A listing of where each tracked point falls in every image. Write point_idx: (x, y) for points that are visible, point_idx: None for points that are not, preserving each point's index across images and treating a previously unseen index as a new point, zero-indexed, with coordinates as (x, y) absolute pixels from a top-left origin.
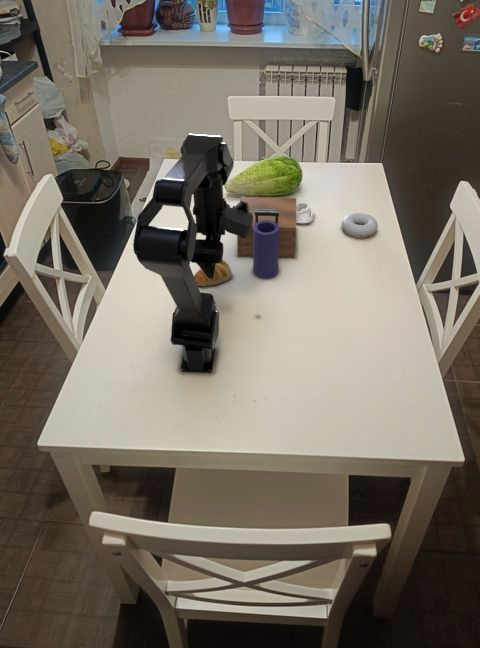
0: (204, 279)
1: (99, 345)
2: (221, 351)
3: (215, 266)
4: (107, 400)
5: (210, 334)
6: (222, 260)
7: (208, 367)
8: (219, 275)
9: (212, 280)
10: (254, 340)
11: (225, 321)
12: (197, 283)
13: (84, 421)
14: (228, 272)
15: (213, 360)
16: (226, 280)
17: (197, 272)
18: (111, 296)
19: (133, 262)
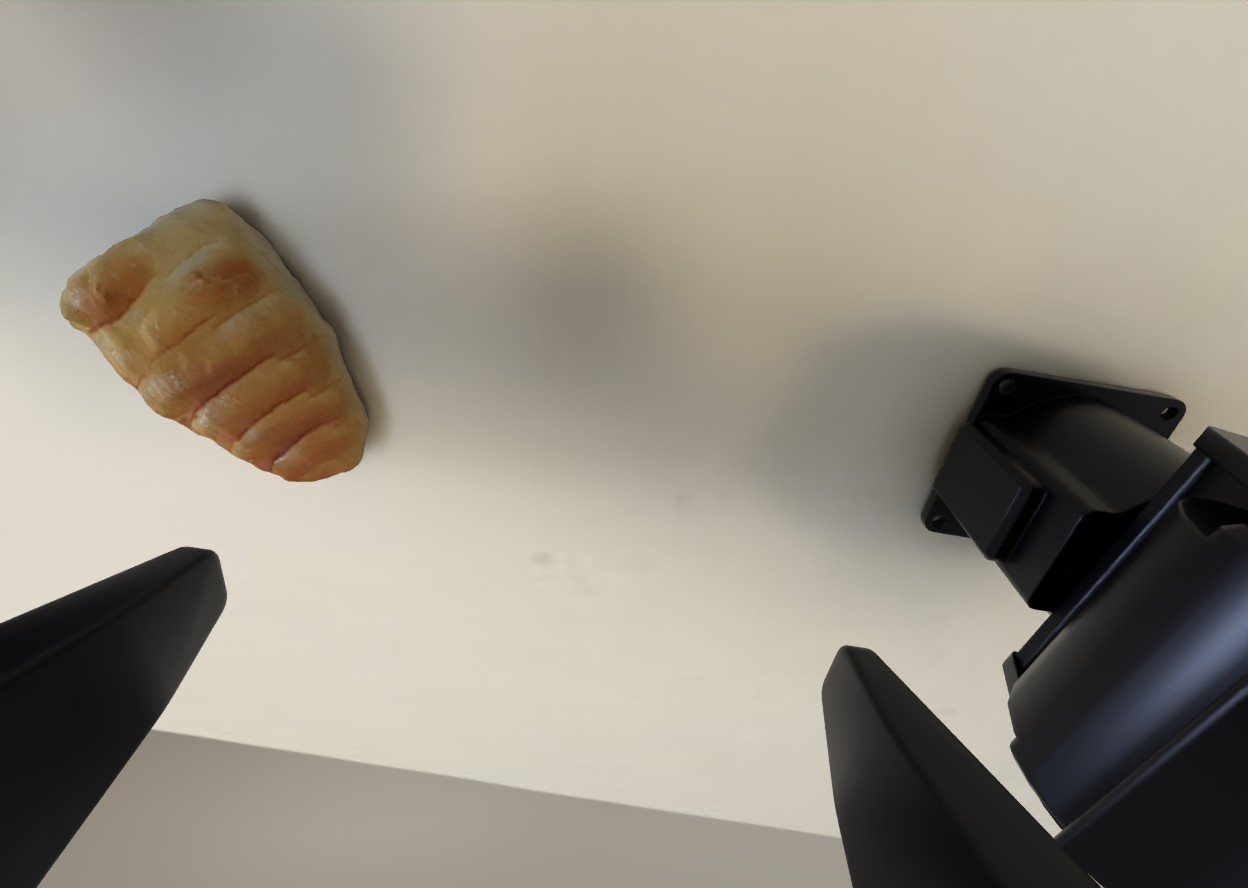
0: (333, 425)
1: (778, 798)
2: (1014, 328)
3: (181, 356)
4: None
5: (1221, 500)
6: (79, 293)
7: (1149, 419)
8: (271, 319)
9: (327, 367)
10: (999, 61)
11: (728, 283)
12: (360, 456)
13: None
14: (207, 238)
15: (1102, 388)
16: (270, 246)
17: (262, 466)
18: (475, 773)
19: (213, 711)
